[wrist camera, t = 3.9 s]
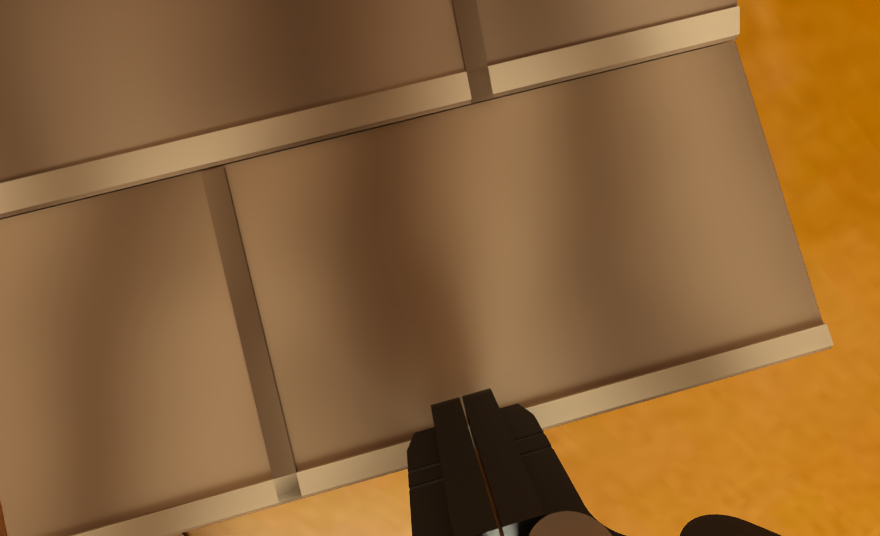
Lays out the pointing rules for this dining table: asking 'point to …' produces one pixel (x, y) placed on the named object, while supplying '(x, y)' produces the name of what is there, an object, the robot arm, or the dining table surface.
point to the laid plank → (283, 75)
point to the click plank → (389, 296)
